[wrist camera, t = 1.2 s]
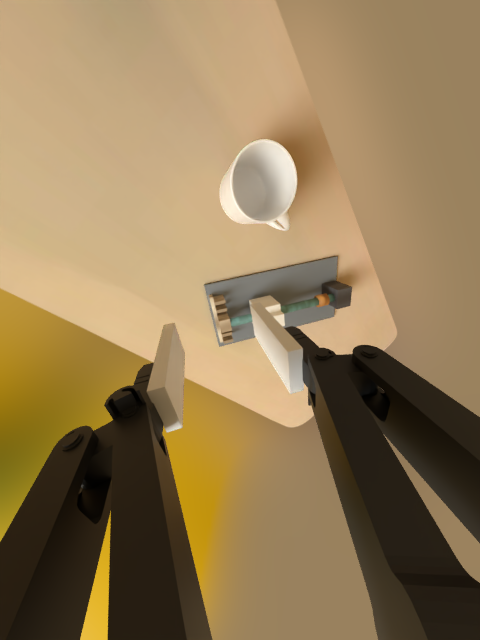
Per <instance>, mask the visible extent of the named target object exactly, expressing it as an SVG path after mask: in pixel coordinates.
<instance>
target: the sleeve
mask: <svg viewBox="0 0 480 640" xmlns="http://www.w3.org/2000/svg"><path fill="white" fill-rule="evenodd" d="M259 302H260V303H261V304H262V305H263V306H264V307H265V308H266V310H267V311H268V312H269V313H270V314H271V315H272V316H273V317H274V318H275V319H276V320H277V321H278V322H279V323H280V324H281V325H282V326H285V321H284V313H282V312H281V306H280V303H279V302H277V301H276V300H275V299H274V298H273V297H272V296H270V295H268V296H264V297H260V298H256V299H251V300H249V304H250V305H251V304H255V303H259ZM250 311H251V307H250ZM252 323H253V322H252Z"/></svg>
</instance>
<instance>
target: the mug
mask: <svg viewBox="0 0 480 640" xmlns="http://www.w3.org/2000/svg"><path fill="white" fill-rule="evenodd" d="M296 190H297V171H296V167H295V163H294V161H293V158H292V157H291V155H290V153H289V152H288V151H287V150H286V149H285V148H284V147H283V146H282V145H281V144H279V143H278V142H276V141H273V140H269V139H259V140H255V141H253V142H251V143H249V144H248V145H246V146H245V147H244V148H243V149H242V150H241V151H240V152H239V154H238V155H237V157H236V158H235V160H234V161H233V163H232V164H231V166H230V167H229V169H228V170H227V172H226V173H225V175H224V177H223V179H222V181H221V185H220V202H221V205H222V208H223V210H224V211H225V213H226V214H227V215H228V217H230V218H231V219H232V220H233V221H235V222H238V223H241V224H259V223H266V224H268V225H270V226H272V227H274V228H276V229H279V230H283V231H287V230H289V228H290V219H289V215H288V212H287V210H288V209H289V208H290V206H291V204H292V202H293V200H294V197H295V194H296ZM275 220H277V221H279V222H280V223H281V224H282V225H283V227H284V228H283V227H281V226H280V225H279V224H278V223H277V222H276V221H275Z"/></svg>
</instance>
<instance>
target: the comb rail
mask: <svg viewBox="0 0 480 640" xmlns="http://www.w3.org/2000/svg"><path fill="white" fill-rule="evenodd" d="M351 292H352V287H351V286H348V285H345V284H343V283H340V282H337V281H330V282H325V283H322V294H320V295H316V296H315V297H314V298H312V299H308V300H304V301H300V302H296V303H292V304H288V305H284V306H281V312H282V313H284V314H285V313H289V312H293V311H297V310H301V309H305V308H309V307H313V306H316V307H322V306H325V305H328V304H329V305H330V306H332V307H334V308H336V309H340V308H343V307H347V306H350V303H351ZM209 299H210V303H211V307H212V311H213V315H214V320H215V324H216V328H217V332H218V336H219V340H220V343H222V342H224V344H226V343H230V342H234V341H233V337H232V331H231V330H232V328H231V327H233V326H237V325H241V324H245V323H249V322H253V320H252V314H247V315H243V316H239V317H235V318H229V316H228V314H227V312H226V311H227V307H226V305H225V303H226V301H225V299H224V297H223V295H218V296H214V297H213V295H212V294H211V295H209Z"/></svg>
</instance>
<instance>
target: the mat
mask: <svg viewBox="0 0 480 640" xmlns="http://www.w3.org/2000/svg"><path fill="white" fill-rule="evenodd" d="M337 260H338V256H334V257H330V258H325V259H320V260H316V261H311V262H307V263H302V264H297V265H293V266H288V267H284V268H279V269H274V270H270V271H265V272H261V273H256V274H251V275H247V276H242V277H238V278H233V279H228V280H224V281H219V282H214V283H210V284H205V285H204V286H205V290H206V294H207V298H208V302H209V306H210V311H211V315H212V319H213V323H214V327H215V331H216V335H217V339H218V343H219V347H220V346H224V345H228V344H232V343H235V342H239V341H243V340H247V339H251V338H254V337H255V334H254V327H253V323H252V322H249V323H245V324H241V325H237V326H233V327H231V328H232V330H231V331H232V337H233V341H234V342H230V343H226V344H224V342H222V343H220V340H219V336H218V332H217V328H216V324H215V320H214V315H213V311H212V307H211V303H210V299H209V295H211V294H212V295H213V297H214V296H218V295H223V297H224V299H225V301H226V303H225V305H226V307H227V311H226V312H227V314H228V316H229V318H235V317H239V316H243V315H247V314H251V311H250V304H249V300H251V299H256V298H260V297H264V296H268V295H270V296H272V297H273V298H274V299H275V300H276V301H277V302H279V303H280V306H284V305H288V304H292V303H296V302H300V301H304V300H308V299H312V298H314V297H315V296H316V295H320V294H322V283H325V282H330V281H336V277H337ZM334 311H335V308H334V307H332V306H330V305H329V304H328V305H325V306H322V307H316V306H313V307H309V308H305V309H301V310H297V311H293V312H289V313H285V314H284V321H285V326H282V327H283V328H286V327H290V326H293V327H297V326H300V325H304V324H308V323H312V322H316V321H319V320H323V319H327V318H331V317H334Z"/></svg>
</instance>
